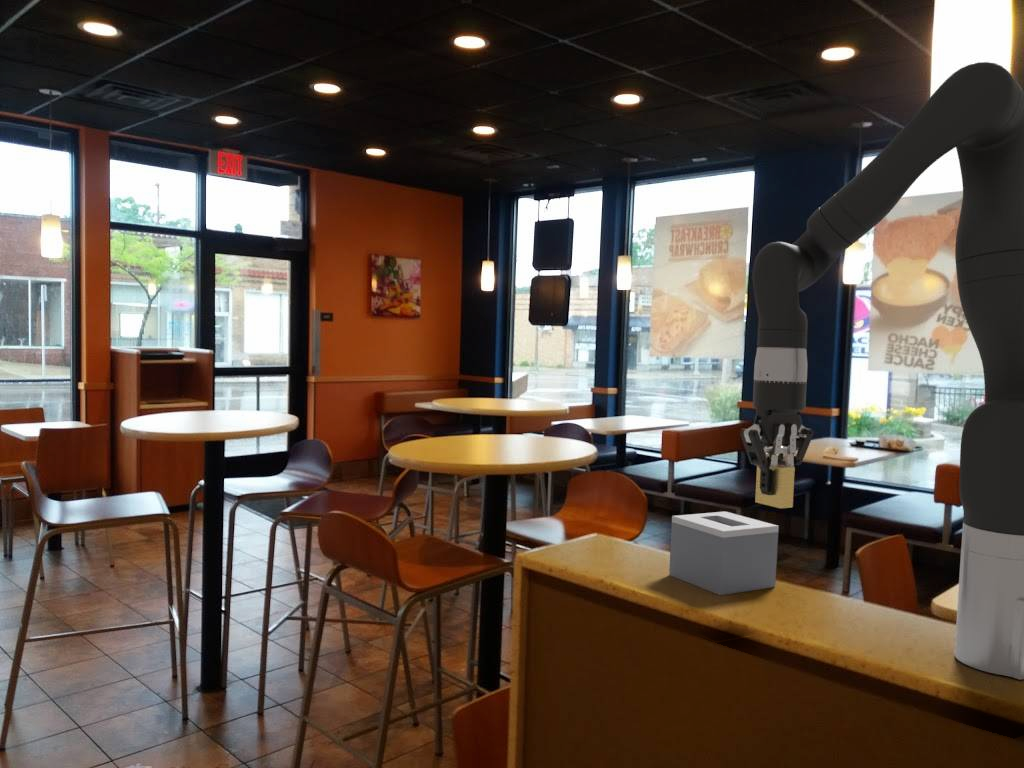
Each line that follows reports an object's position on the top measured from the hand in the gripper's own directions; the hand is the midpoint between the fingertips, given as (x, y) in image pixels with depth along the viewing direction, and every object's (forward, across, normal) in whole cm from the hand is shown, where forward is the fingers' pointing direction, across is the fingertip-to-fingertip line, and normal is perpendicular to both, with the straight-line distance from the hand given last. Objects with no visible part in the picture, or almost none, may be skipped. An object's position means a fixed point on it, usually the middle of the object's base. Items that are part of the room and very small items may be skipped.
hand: (774, 493), depth 123 cm
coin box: (+17, +2, +12) cm, 21 cm away
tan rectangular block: (-1, 0, 0) cm, 1 cm away
